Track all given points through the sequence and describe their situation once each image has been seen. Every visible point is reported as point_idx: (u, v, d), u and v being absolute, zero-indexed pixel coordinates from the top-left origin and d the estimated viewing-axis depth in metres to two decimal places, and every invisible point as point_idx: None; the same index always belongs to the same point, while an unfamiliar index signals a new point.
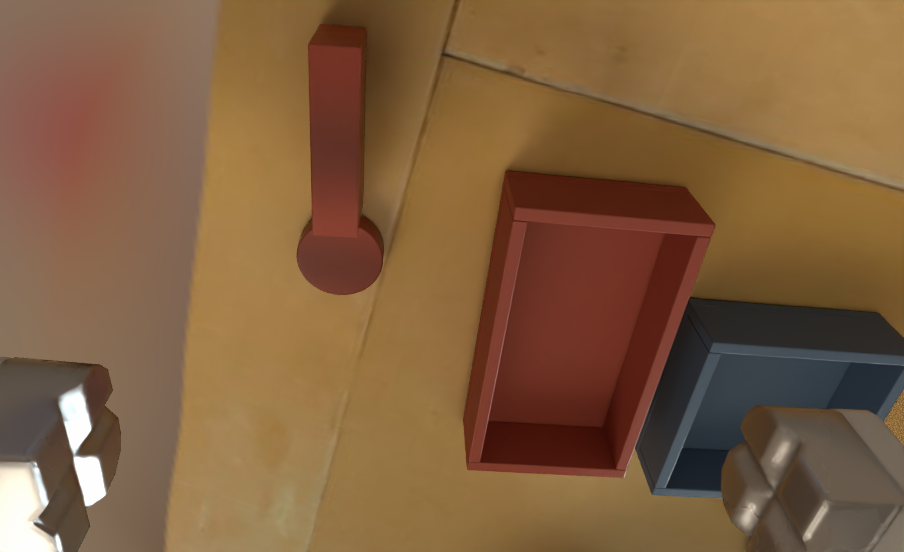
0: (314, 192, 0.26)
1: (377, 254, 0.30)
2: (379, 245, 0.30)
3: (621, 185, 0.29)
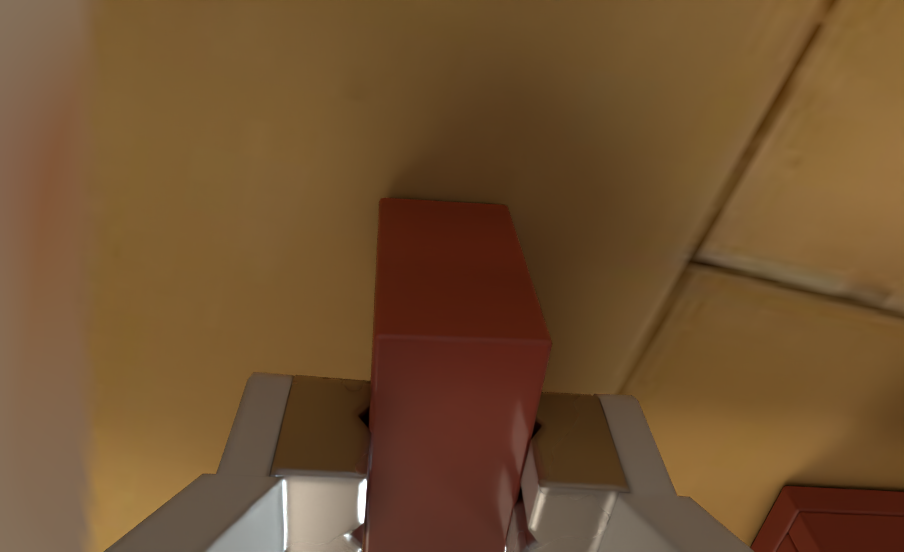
0: None
1: None
2: None
3: None
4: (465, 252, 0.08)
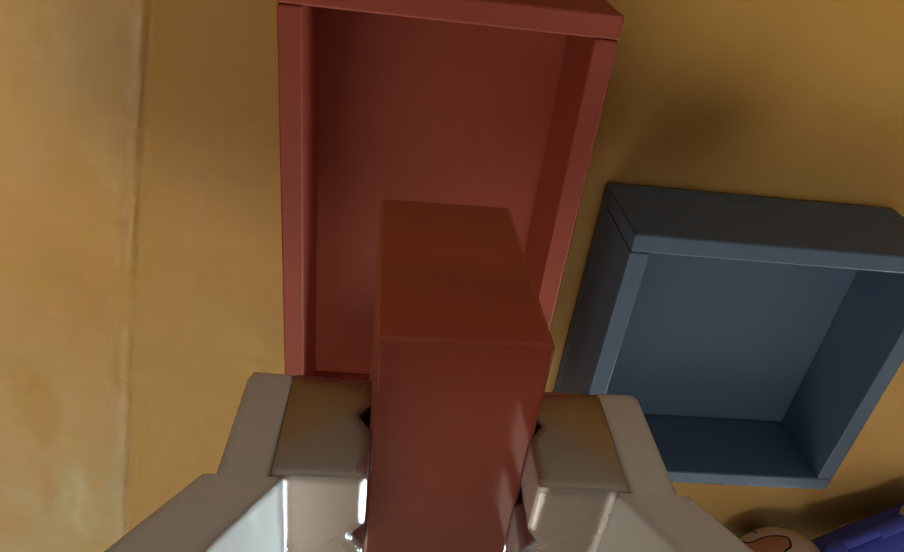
0: None
1: None
2: None
3: None
4: (467, 255, 0.08)
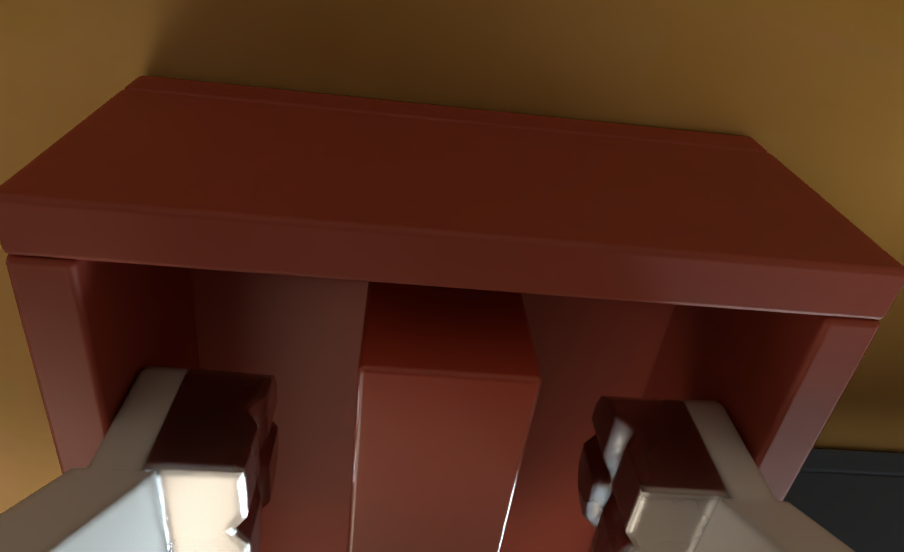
0: None
1: None
2: None
3: (535, 126, 0.09)
4: None
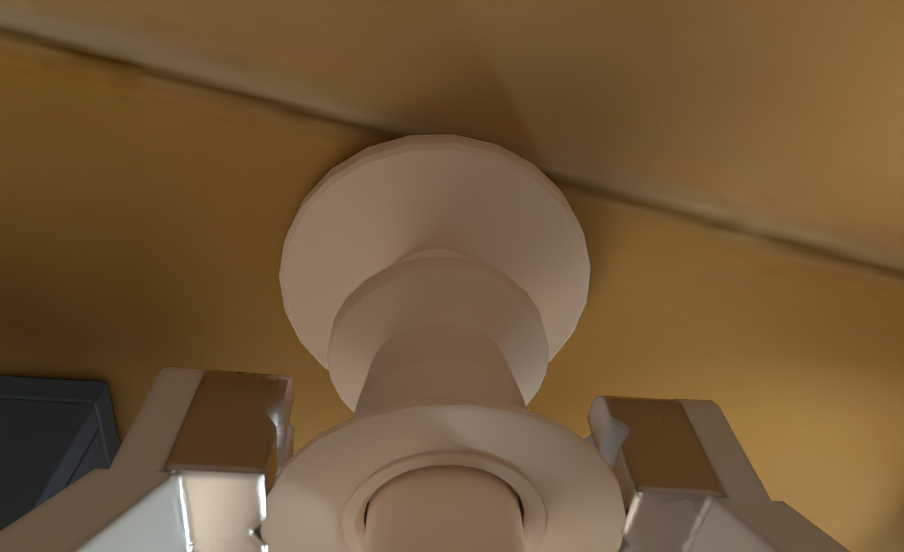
0: None
1: None
2: None
3: None
4: None
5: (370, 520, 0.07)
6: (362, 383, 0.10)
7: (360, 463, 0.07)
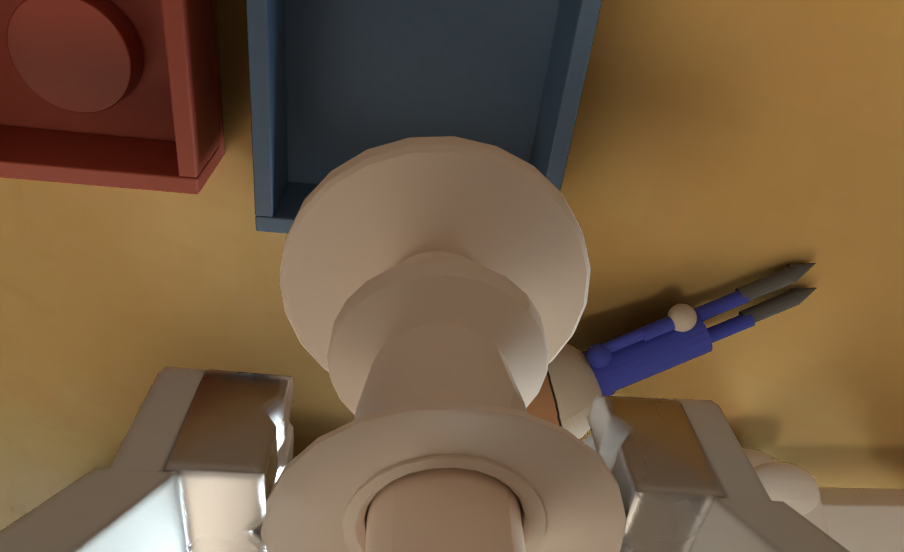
0: None
1: (121, 49, 0.22)
2: (123, 36, 0.21)
3: None
4: None
5: (370, 523, 0.07)
6: (362, 385, 0.10)
7: (360, 466, 0.07)
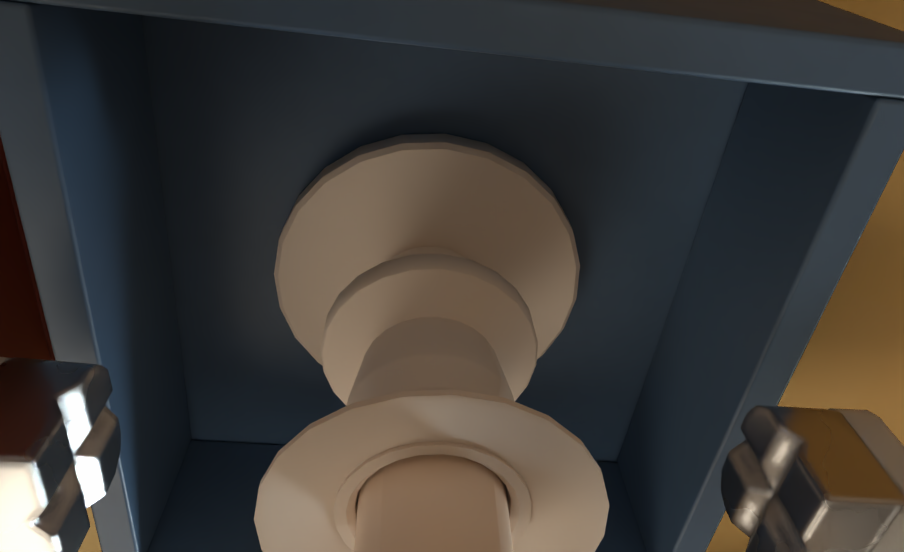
0: None
1: None
2: None
3: None
4: None
5: (360, 508, 0.07)
6: (355, 377, 0.10)
7: (350, 453, 0.07)
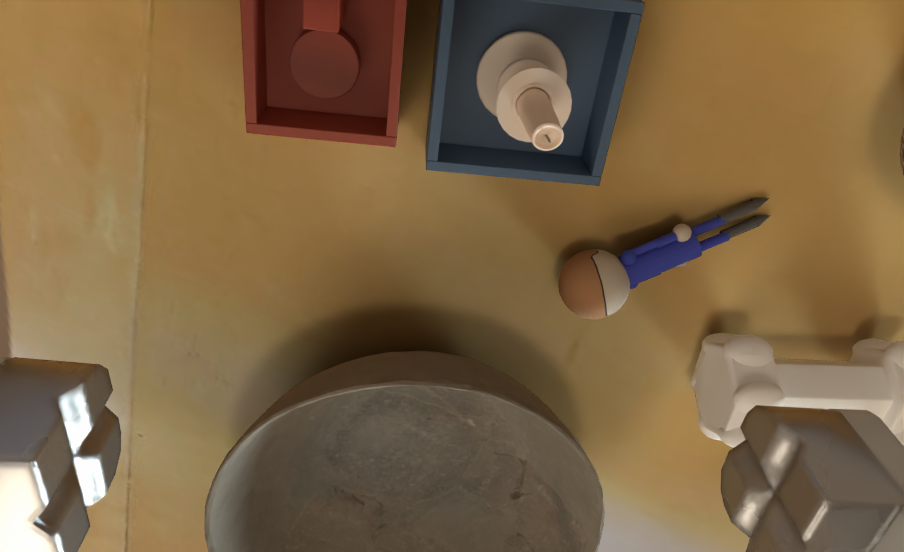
0: None
1: (354, 61, 0.37)
2: (356, 53, 0.37)
3: None
4: None
5: (518, 100, 0.34)
6: None
7: (518, 84, 0.34)
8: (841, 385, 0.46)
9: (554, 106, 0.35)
